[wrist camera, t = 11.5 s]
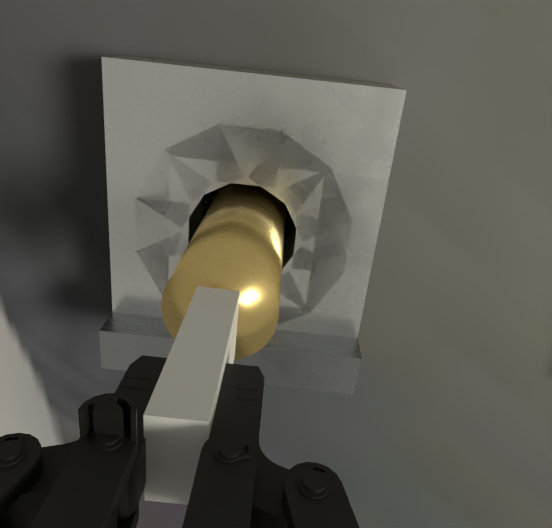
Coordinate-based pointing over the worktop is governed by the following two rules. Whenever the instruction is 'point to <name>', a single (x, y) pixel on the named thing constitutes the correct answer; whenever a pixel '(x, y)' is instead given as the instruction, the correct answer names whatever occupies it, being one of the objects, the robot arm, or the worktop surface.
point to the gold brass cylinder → (234, 263)
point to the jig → (250, 171)
